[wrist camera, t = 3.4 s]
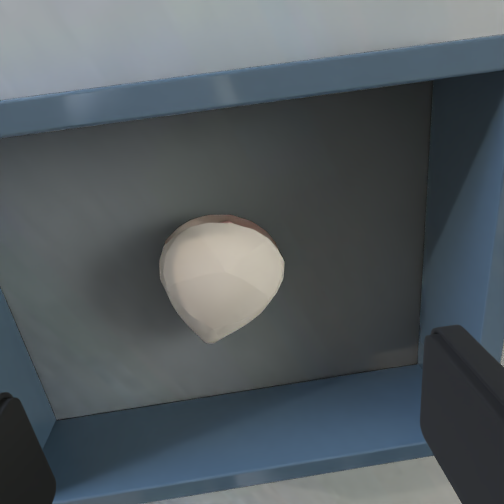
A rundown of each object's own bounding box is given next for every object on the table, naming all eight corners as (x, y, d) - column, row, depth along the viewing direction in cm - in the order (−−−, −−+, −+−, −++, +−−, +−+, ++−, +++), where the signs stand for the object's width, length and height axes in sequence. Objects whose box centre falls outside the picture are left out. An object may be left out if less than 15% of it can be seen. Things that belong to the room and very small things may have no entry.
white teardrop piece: (287, 216, 15) (301, 242, 13) (261, 330, 17) (268, 371, 14) (169, 198, 14) (160, 221, 12) (155, 319, 16) (145, 359, 14)
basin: (-100, 114, 12) (-230, 130, 9) (458, 41, 13) (554, 27, 9) (44, 436, 18) (1, 528, 14) (433, 374, 19) (487, 447, 15)
